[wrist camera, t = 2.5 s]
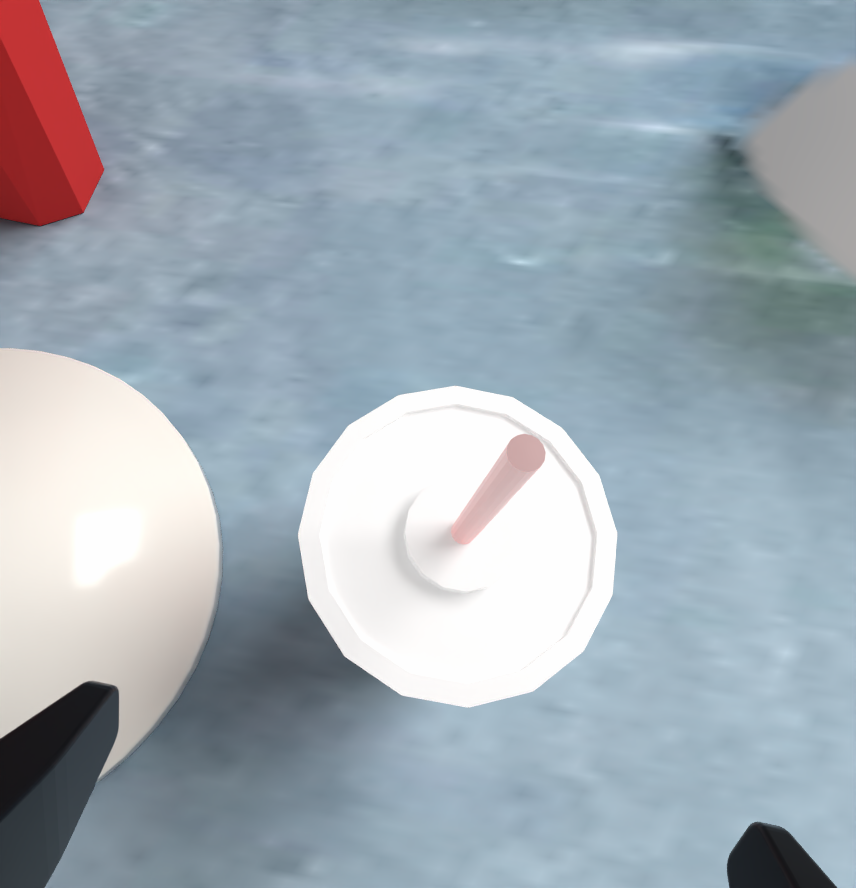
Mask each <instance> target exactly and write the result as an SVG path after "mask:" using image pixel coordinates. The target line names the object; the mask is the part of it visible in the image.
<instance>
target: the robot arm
mask: <svg viewBox="0 0 856 888" xmlns="http://www.w3.org/2000/svg"><path fill="white" fill-rule="evenodd" d="M118 729H119V690H118V688H117V687H116V686H115V685H112V684H107V683H102V682H97V681H87V682H84V683H82V684H80V685H79V686H77V687H76V688H74V689H73V690H71V691H70V692H69V693H67V694H66V695H64V696H63V697H61V698H60V699H58V700H57V701H55V702H54V703H52V704H51V705H49V706H48V707H46V708H45V709H43V710H42V711H40V712H39V713H37V714H36V715H34V716H33V717H31V718H30V719H28V720H27V721H25V722H24V723H23V724H21V725H20V726H18V727H17V728H15V729H14V730H12V731H11V732H9V733H8V734H6V735H5V736H3V737H2V738H0V888H44V887H45V886H46V884H47V882H48V881H49V879H50V877H51V875H52V873H53V872H54V870H55V868H56V866H57V864H58V863H59V861H60V859H61V857H62V855H63V853H64V851H65V849H66V847H67V844H68V842H69V840H70V838H71V836H72V834H73V832H74V830H75V827H76V825H77V823H78V821H79V819H80V817H81V814H82V812H83V810H84V808H85V806H86V804H87V801H88V799H89V797H90V795H91V793H92V791H93V789H94V786H95V784H96V782H97V780H98V778H99V776H100V773H101V771H102V769H103V767H104V765H105V763H106V760H107V758H108V756H109V754H110V752H111V750H112V747H113V745H114V743H115V740H116V737H117V734H118ZM727 875H728V882H729V888H837V887H836V886H835V885H834V883H833V882H832V881H831V880H830V879H829V878H828V876H827V875H826V874H825V873H824V872H823V871H822V870H821V868H820V867H819V866H818V865H817V864H816V863H815V862H814V860H813V859H812V858H811V857H810V856H809V855H808V853H807V852H806V851H805V850H804V849H803V848H802V847H801V845H800V844H799V843H798V842H797V841H796V840H795V838H794V837H793V836H792V835H791V834H790V833H789V832H788V831H787V830H785V829H784V828H782V827H779V826H776V825H771V824H767V823H762V822H754V823H752V824H751V825H750V826H749V827H748V828H747V830H746V831H745V832H744V834H743V835H742V837H741V838H740V840H739V841H738V843H737V844H736V845H735V847H734V848H733V850H732V851H731V853H730V855H729V858H728V863H727Z"/></svg>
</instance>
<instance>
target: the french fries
mask: <svg viewBox="0 0 856 888" xmlns="http://www.w3.org/2000/svg"><path fill="white" fill-rule="evenodd" d="M103 171H104V168H103V165H102V163H101V160H100V157H99V155H98V152H97V150H96V147H95V144H94V142H93V139H92V137H91V134H90V132H89V129H88V126H87V124H86V121H85V119H84V116H83V113H82V111H81V108H80V106H79V103H78V100H77V98H76V95H75V93H74V90H73V88H72V85H71V82H70V80H69V77H68V75H67V72H66V69H65V67H64V64H63V62H62V59H61V57H60V54H59V51H58V49H57V46H56V44H55V41H54V38H53V36H52V33H51V31H50V28H49V25H48V23H47V20H46V18H45V15H44V13H43V10H42V7H41V5H40V2H39V0H0V218H4V219H8V220H13V221H18V222H23V223H28V224H33V225H38V226H42V225H45V224H48V223H51V222H55V221H58V220H61V219H64V218H68V217H71V216H74V215H77V214H81V213H84V210H85V208H86V206H87V204H88V202H89V200H90V198H91V196H92V194H93V192H94V190H95V188H96V186H97V184H98V182H99V180H100V178H101V175H102V173H103Z"/></svg>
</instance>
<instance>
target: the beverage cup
mask: <svg viewBox="0 0 856 888" xmlns="http://www.w3.org/2000/svg"><path fill="white" fill-rule="evenodd" d="M298 538H299V544H300V550H301V557H302V563H303V569H304V575H305V581H306V587H307V593H308V599H309V601H310V602H311V604H312V606H313V607H314V609H315V610H316V612H317V614H318V615H319V617H320V618H321V620H322V621H323V623H324V625H325V626H326V628H327V629H328V631H329V633H330V634H331V636H332V637H333V639H334V640H335V642H336V644H337V645H338V647H339V648H340V650H341V651H342V653H343V655H344V656H345V657H346V658H348V659H349V660H351V661H352V662H353V663H355V664H356V665H358V666H359V667H361V668H362V669H364V670H365V671H367V672H368V673H370V674H371V675H372V676H374V677H375V678H377V679H378V680H380V681H381V682H383V683H384V684H386V685H387V686H389V687H390V688H392V689H393V690H394V691H396V692H397V693H399V694H400V695H403V696H408V697H414V698H419V699H424V700H430V701H435V702H441V703H446V704H452V705H457V706H463V707H468V708H469V707H473V706H477V705H481V704H485V703H489V702H493V701H497V700H501V699H505V698H509V697H513V696H517V695H521V694H525V693H529V692H533V691H534V690H535V689H537V688H538V687H539V686H540V685H542V684H543V683H544V682H545V681H547V680H548V679H549V678H550V677H552V676H553V675H554V674H555V673H557V672H558V671H559V670H560V669H562V668H563V667H564V666H565V665H567V664H568V663H569V662H570V661H572V660H573V659H574V658H575V657H577V656H578V655H579V654H580V653H582V652H583V651H584V649H585V647H586V645H587V643H588V641H589V639H590V638H591V636H592V634H593V632H594V630H595V628H596V626H597V624H598V622H599V620H600V618H601V616H602V614H603V612H604V610H605V608H606V607H607V605H608V603H609V601H610V599H611V597H612V594H613V581H614V568H615V555H616V542H617V531H616V528H615V525H614V522H613V518H612V515H611V512H610V509H609V506H608V502H607V499H606V496H605V493H604V489H603V486H602V483H601V480H600V476H599V475H598V473H597V472H596V471H595V469H594V468H593V467H592V466H591V464H590V463H589V462H588V460H587V459H586V458H585V457H584V455H583V454H582V453H581V451H580V450H579V449H578V448H577V446H576V445H575V444H574V443H573V441H572V440H571V439H570V437H569V436H568V435H567V434H566V432H565V431H564V430H563V428H561V427H559V426H558V425H556V424H555V423H553V422H551V421H550V420H548V419H547V418H545V417H543V416H542V415H540V414H539V413H537V412H535V411H534V410H532V409H530V408H529V407H527V406H526V405H524V404H522V403H521V402H519V401H518V400H516V399H514V398H513V397H508V396H503V395H498V394H493V393H489V392H484V391H479V390H474V389H469V388H464V387H459V386H452V387H446V388H440V389H434V390H428V391H421V392H415V393H409V394H403V395H398V396H397V397H395V398H393V399H392V400H390V401H388V402H387V403H385V404H383V405H382V406H380V407H378V408H377V409H375V410H373V411H372V412H370V413H368V414H367V415H365V416H363V417H362V418H360V419H358V420H357V421H355V422H354V423H352V424H350V425H349V426H348V427H347V428H346V430H345V431H344V432H343V434H342V435H341V436H340V438H339V439H338V440H337V442H336V443H335V444H334V446H333V447H332V449H331V450H330V451H329V453H328V454H327V455H326V457H325V458H324V459H323V461H322V462H321V463H320V465H319V466H318V467H317V469H316V470H315V471H314V473H313V475H312V479H311V483H310V487H309V491H308V495H307V500H306V504H305V508H304V512H303V516H302V520H301V524H300V528H299V532H298Z"/></svg>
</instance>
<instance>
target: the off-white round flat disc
mask: <svg viewBox="0 0 856 888" xmlns="http://www.w3.org/2000/svg"><path fill="white" fill-rule="evenodd" d="M222 576H223V542H222V533H221V524H220V518H219V514H218V510H217V506H216V502H215V499H214V495H213V492H212V489H211V487H210V485H209V482H208V480H207V477H206V475H205V473H204V470H203V468H202V466H201V465H200V463H199V462H198V460H197V458H196V457H195V455H194V453H193V452H192V450H191V448H190V447H189V445H188V444H187V443H186V441H185V440H184V439H183V437H182V436H181V435H180V434H179V432H178V431H177V430H176V429H175V427H174V426H173V425H172V424H171V423H170V421H169V420H168V419H167V418H166V417H165V415H164V414H163V413H162V412H161V411H160V410H159V409H158V408H157V407H155V406H154V405H153V404H152V403H151V402H150V401H149V400H148V399H147V398H146V397H145V396H143V395H142V394H141V393H139V392H138V391H136V390H135V389H133V388H132V387H131V386H129V385H128V384H126V383H125V382H123V381H122V380H120V379H119V378H117V377H115V376H113V375H111V374H109V373H107V372H105V371H103V370H101V369H99V368H97V367H94V366H92V365H89V364H86V363H83V362H80V361H77V360H74V359H71V358H69V357H64V356H60V355H55V354H50V353H46V352H41V351H33V350H22V349H12V348H0V738H2V737H3V736H5V735H6V734H8V733H9V732H11V731H12V730H14V729H15V728H17V727H18V726H20V725H21V724H23V723H24V722H25V721H27V720H28V719H30V718H31V717H33V716H34V715H36V714H37V713H39V712H40V711H42V710H43V709H45V708H46V707H48V706H49V705H51V704H52V703H54V702H55V701H57V700H58V699H60V698H61V697H63V696H64V695H66V694H67V693H69V692H70V691H71V690H73V689H74V688H76V687H77V686H79V685H80V684H82V683H84V682H87V681H97V682H102V683H107V684H112V685H115V686H116V687H117V688H118V690H119V729H118V734H117V737H116V740H115V743H114V745H113V747H112V750H111V752H110V754H109V756H108V758H107V760H106V763H105V765H104V767H103V769H102V771H101V773H100V776H99V778H98V780H97V782H99V781H100V780H102V779H103V778H104V777H106V776H107V775H108V774H109V773H110V772H112V771H113V770H114V769H115V768H116V767H117V766H119V765H120V764H121V763H122V762H123V761H124V760H126V759H127V758H128V757H129V756H130V755H131V754H133V753H134V751H135V750H136V749H137V748H138V747H139V746H140V745H141V744H142V743H143V742H144V741H145V740H146V739H147V738H148V736H149V735H150V734H151V733H152V732H153V731H154V730H155V729H156V728H157V727H158V725H159V724H160V723H161V721H162V720H163V719H164V717H165V716H166V715H167V713H168V712H169V711H170V709H171V708H172V707H173V705H174V704H175V703H176V701H177V700H178V699H179V697H180V695H181V693H182V692H183V690H184V688H185V686H186V685H187V683H188V681H189V680H190V678H191V676H192V674H193V673H194V671H195V669H196V667H197V665H198V662H199V660H200V658H201V655H202V653H203V651H204V648H205V646H206V644H207V641H208V639H209V636H210V632H211V629H212V626H213V622H214V619H215V615H216V612H217V608H218V603H219V596H220V590H221V584H222ZM97 782H96V783H97Z"/></svg>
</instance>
